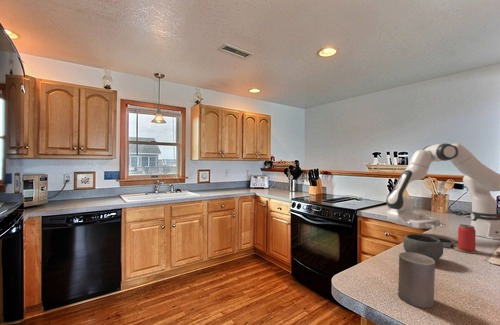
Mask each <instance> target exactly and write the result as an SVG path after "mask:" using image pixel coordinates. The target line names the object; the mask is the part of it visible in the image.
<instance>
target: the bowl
mask: <svg viewBox="0 0 500 325" xmlns="http://www.w3.org/2000/svg"><path fill="white" fill-rule="evenodd" d="M433 237H434V236H431V235H430V236H429V235H426V234H420V233H419V234H416V233H415V234H414V233H411V234H406V235H405V236H404V237H403V244H402V246H403V249H404V252H412V253H418V254H422V255H425V256H427V257H430V258H432V259H433V260H434V261H435V262H436V261H438V260H439V259H440V258H442V256H443V255H444V247H443V245H442V243H441V241H440V240H439V239H436V238H433Z"/></svg>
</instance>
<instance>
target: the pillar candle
mask: <svg viewBox="0 0 500 325" xmlns="http://www.w3.org/2000/svg"><path fill="white" fill-rule="evenodd" d="M435 269H436V260H435V261H434V260H433V259H432V258H430V257H427V256H425V255H422V254H418V253H412V252H406V251H403V252H400V253H399V255H398V286H397V287H398V289H397V290H398V292H397V294H398V298H399V299H400V300H401V301H403V302H404V303H406V304H408V305H410V306H413V307H415V308H421V309H431V308H433V306H434V305H435V280H436V279H435V277H436V276H435V274H436V273H435V272H436V270H435Z"/></svg>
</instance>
